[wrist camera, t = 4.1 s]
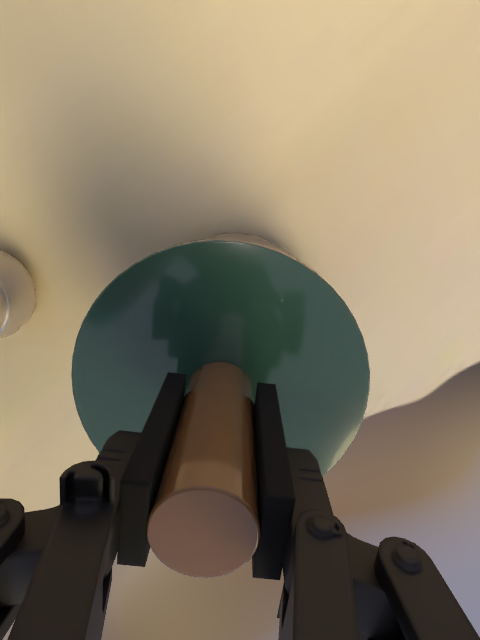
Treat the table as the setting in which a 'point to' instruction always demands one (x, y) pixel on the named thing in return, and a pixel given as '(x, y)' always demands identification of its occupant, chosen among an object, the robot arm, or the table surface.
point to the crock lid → (219, 383)
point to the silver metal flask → (14, 294)
